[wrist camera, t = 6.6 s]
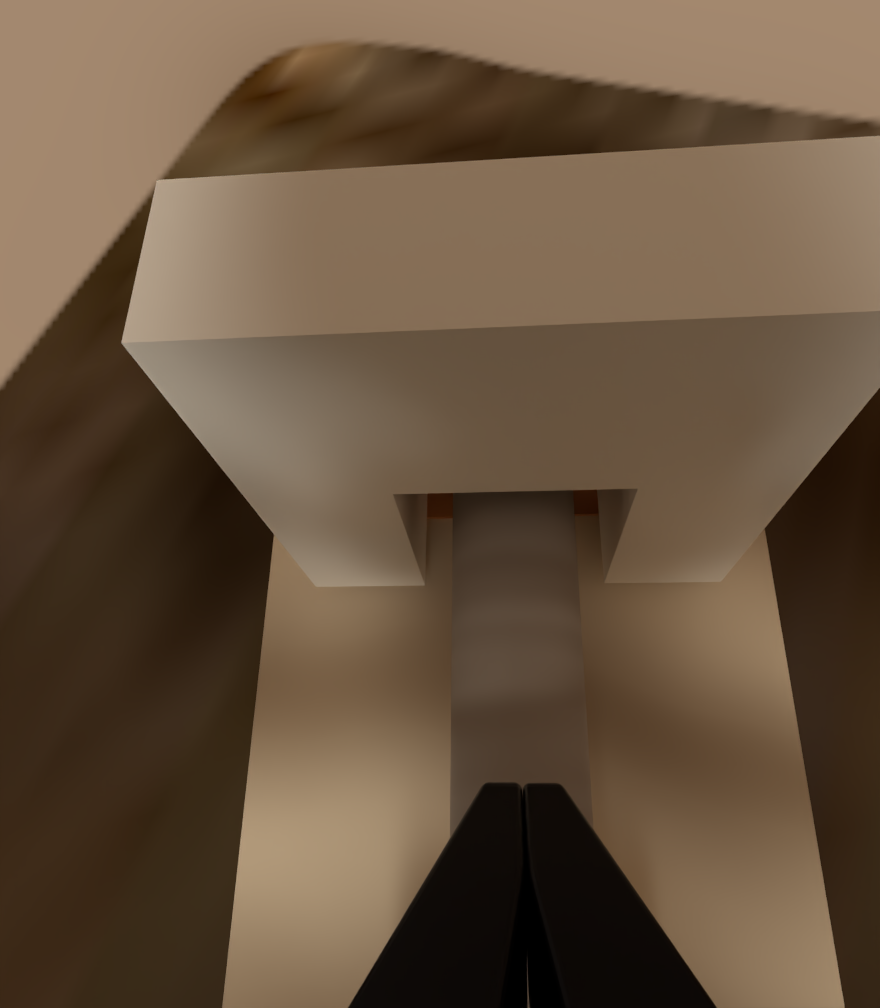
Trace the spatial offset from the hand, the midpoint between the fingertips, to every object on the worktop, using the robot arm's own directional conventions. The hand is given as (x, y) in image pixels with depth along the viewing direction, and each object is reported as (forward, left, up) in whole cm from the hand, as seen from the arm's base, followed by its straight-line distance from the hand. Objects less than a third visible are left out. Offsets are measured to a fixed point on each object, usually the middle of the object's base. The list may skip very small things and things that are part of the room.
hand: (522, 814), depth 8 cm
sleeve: (+6, -2, -7) cm, 9 cm away
